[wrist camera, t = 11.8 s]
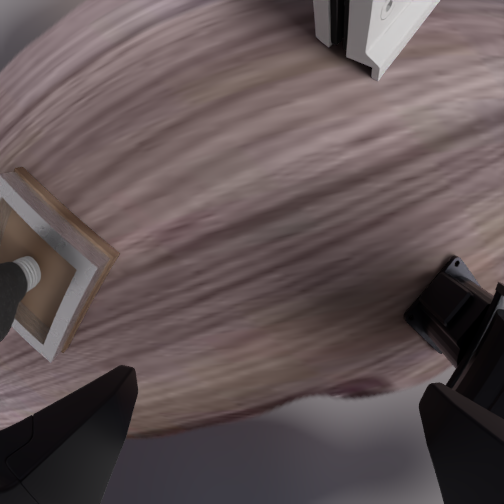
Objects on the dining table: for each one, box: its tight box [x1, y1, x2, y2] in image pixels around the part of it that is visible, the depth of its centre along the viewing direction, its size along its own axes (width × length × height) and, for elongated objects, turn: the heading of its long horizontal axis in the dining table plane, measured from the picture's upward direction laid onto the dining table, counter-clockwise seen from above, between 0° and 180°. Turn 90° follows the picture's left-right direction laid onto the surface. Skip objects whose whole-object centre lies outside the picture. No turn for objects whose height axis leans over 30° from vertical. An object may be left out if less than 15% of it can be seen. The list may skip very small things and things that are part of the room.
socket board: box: [0, 167, 120, 353], centre depth 20 cm, size 11×11×1 cm
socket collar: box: [0, 172, 111, 362], centre depth 19 cm, size 11×11×2 cm
